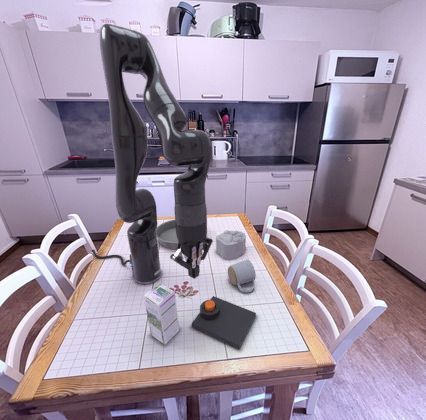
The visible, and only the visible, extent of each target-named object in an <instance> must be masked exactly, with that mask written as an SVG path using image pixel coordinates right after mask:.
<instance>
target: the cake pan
mask: <svg viewBox="0 0 426 420" xmlns="http://www.w3.org/2000/svg"><path fill="white" fill-rule="evenodd" d="M156 236H157V241H158V242H159V244H160V245H161V246H163V247H164V248H168V249H172V250H178V249H177V245H178V238H177V235H176V224H175V219H171V220H167V221H165V222H162V223H161V224H159V225H157V229H156Z"/></svg>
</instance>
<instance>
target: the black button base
mask: <svg viewBox="0 0 426 420" xmlns="http://www.w3.org/2000/svg"><path fill="white" fill-rule="evenodd" d="M209 300H211V301H214V302H215V309H214V310H213V311H212V312H208V311H206V310H205V303H206V302H207V301H209ZM256 316H257V312H255V311H254V310H253V311H252V310H251V309H247V308H245V307H242V306H240V305H237V304H234V303H232V302H230V301H227V300H224V299H222V298H219V297H218V296H214V295H212V297H211V298H210V299H206V300H204V301H202V302H201V304H200V305H199V313H198V315H197V316H196V317H195V318H194V320H192V322H191V328H192V329H194V330H197V331H199V332H201V333H203V334H205V335H208V336H210V337H211V338H213V339H215V340H218V341H220V342H222V343H224V344H226V345H229V346H230V347H233V348H235V349H237V350H241V347H242V345H243V343H244V341H245V339H246V337H247V335H248V333H249V332H250V329H251V328H252V325H253V324H254V321H255V319H256Z"/></svg>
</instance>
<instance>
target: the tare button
mask: <svg viewBox="0 0 426 420" xmlns="http://www.w3.org/2000/svg"><path fill="white" fill-rule="evenodd" d="M208 300H209V301H207V302H206V303H205V310H206V311H208V312H212V311H213V310H214V309H215V302H214V301H211V300H210V299H208Z"/></svg>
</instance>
